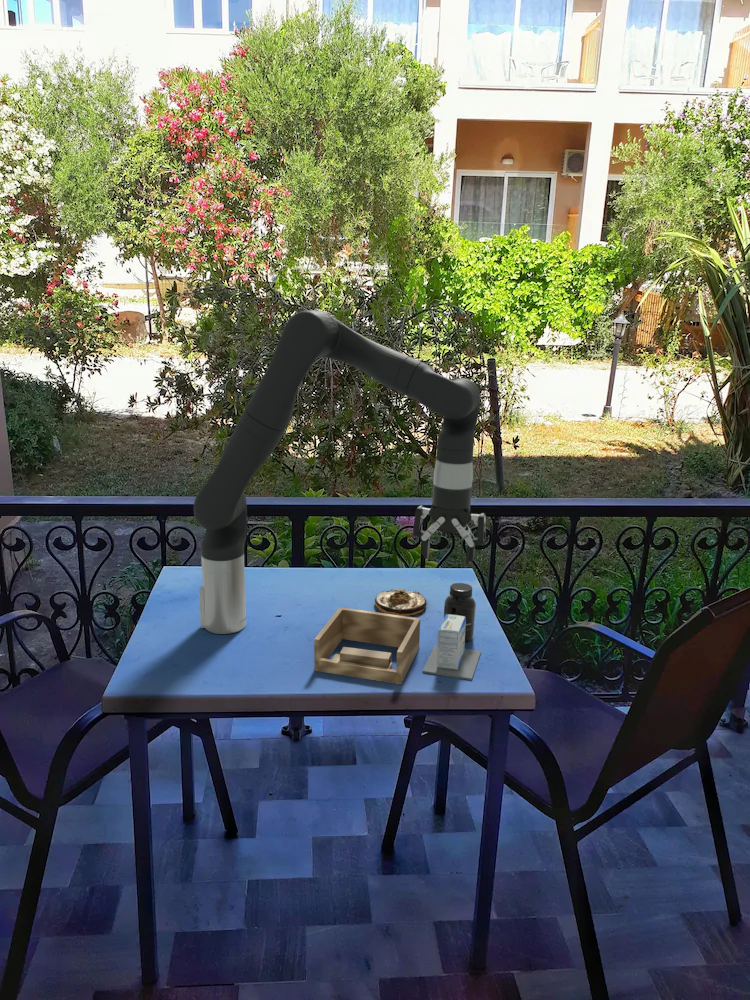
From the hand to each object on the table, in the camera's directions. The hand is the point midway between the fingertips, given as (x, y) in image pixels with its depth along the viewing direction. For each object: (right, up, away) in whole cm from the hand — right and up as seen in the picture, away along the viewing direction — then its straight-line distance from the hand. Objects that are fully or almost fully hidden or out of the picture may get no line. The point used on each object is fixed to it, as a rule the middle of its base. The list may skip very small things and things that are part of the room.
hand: (447, 559), depth 161 cm
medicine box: (+1, -21, +5) cm, 22 cm away
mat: (+2, -22, +5) cm, 22 cm away
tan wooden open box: (-16, -21, +6) cm, 27 cm away
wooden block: (-17, -22, +1) cm, 28 cm away
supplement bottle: (+4, -18, +16) cm, 25 cm away
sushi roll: (-8, -14, +32) cm, 36 cm away
